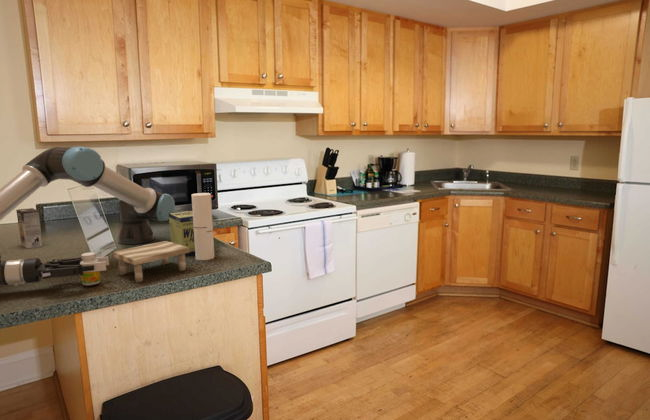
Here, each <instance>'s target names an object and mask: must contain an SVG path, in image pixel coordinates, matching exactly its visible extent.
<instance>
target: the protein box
mask: <svg viewBox="0 0 650 420" xmlns="http://www.w3.org/2000/svg"><path fill="white" fill-rule="evenodd" d="M168 221H169V222H168V223H169V236H170V237H169V238H170V242H172V243H175V244H179V245H182V246H185V247H189V253H185V257H187V256H193V255H195V240H194V225H193V210H185V211H174V213H169V219H168Z"/></svg>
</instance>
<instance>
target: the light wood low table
mask: <svg viewBox="0 0 650 420" xmlns="http://www.w3.org/2000/svg"><path fill="white" fill-rule="evenodd" d="M185 253H189V247H185V246H182V245H179V244H175V243H172V242H171V241H168V240H164V241H158V242H153V243H148V244H144V245H139V246H135V247H129V248H124V249H119V250H115V251H112V257H113V258H115V259H117V265H118V273H119V275H121V276H122V275H124V276H125V275H126V274H127V273H128V271H127V264H130V265H133V271H134V281H135V282H136V283H140V282H143V281H144V274H143V264H146V263H151V262H154V261H158V260H161V264H162V265H167V264H169V263H170V262H169V258H172V257H176V256H177V260H178V271H180V272H181V271H186V270H187V264H186V256H185Z"/></svg>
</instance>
